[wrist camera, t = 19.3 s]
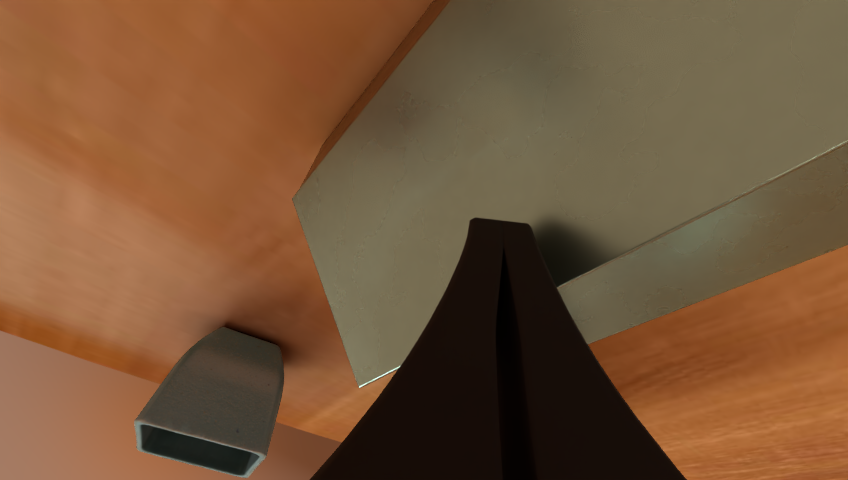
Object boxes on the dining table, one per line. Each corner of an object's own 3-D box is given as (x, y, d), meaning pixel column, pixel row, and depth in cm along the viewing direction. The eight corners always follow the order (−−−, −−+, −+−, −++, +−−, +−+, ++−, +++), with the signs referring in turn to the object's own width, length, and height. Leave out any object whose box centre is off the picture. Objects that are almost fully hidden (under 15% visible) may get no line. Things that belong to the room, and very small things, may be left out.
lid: (367, 385, 16) (358, 388, 15) (299, 198, 18) (291, 198, 18) (1057, 39, 6) (1069, 30, 5) (694, -284, 8) (690, -303, 8)
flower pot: (284, 379, 41) (246, 481, 35) (193, 349, 39) (135, 452, 33) (308, 342, 35) (267, 457, 29) (201, 305, 33) (132, 419, 27)
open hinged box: (545, 300, 27) (551, 359, 24) (322, 145, 21) (293, 200, 18) (881, 136, 17) (959, 204, 14) (643, -272, 11) (696, -300, 8)
